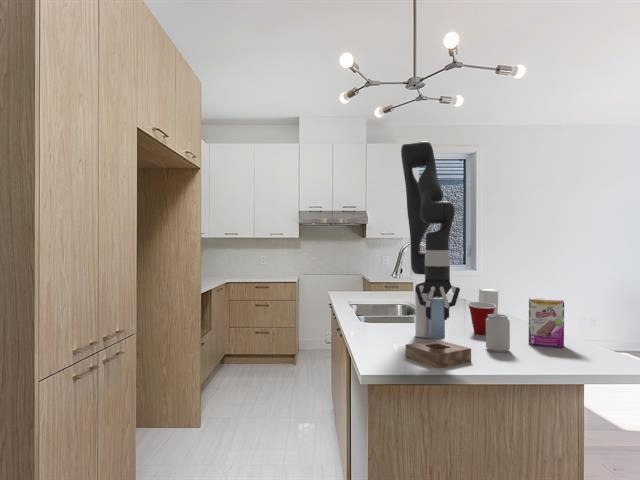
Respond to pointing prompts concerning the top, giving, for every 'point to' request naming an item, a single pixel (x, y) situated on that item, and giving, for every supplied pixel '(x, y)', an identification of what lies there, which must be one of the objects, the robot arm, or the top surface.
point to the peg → (437, 319)
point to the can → (497, 333)
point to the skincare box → (489, 297)
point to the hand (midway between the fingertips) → (437, 318)
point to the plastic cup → (480, 315)
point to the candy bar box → (546, 322)
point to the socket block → (438, 353)
